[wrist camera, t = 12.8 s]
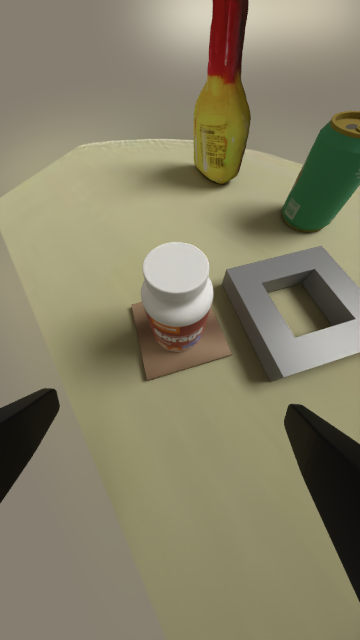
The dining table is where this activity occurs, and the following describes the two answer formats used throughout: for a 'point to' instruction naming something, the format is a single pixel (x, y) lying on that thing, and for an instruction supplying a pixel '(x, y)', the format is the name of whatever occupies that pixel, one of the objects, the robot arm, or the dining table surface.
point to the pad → (170, 362)
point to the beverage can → (326, 175)
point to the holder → (271, 329)
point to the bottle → (223, 97)
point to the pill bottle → (177, 294)
